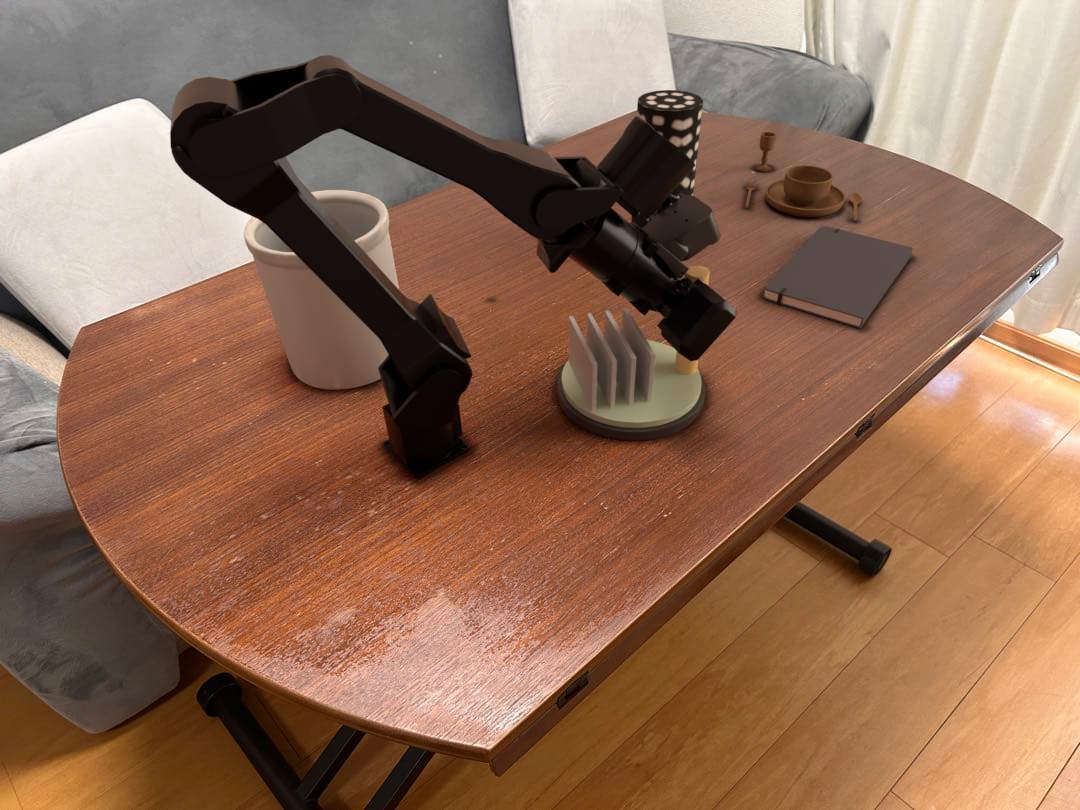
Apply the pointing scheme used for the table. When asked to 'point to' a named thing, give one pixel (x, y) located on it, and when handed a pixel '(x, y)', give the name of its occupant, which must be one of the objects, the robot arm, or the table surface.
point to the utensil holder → (324, 296)
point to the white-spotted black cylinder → (674, 128)
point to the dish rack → (629, 373)
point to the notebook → (838, 275)
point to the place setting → (801, 188)
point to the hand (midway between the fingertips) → (705, 322)
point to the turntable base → (629, 433)
